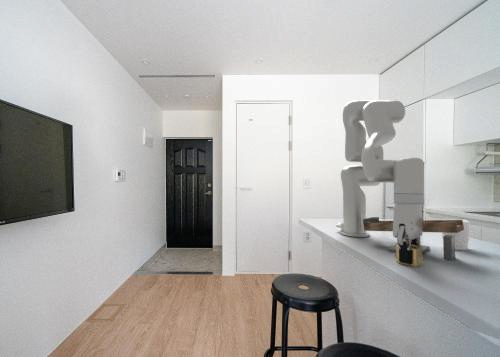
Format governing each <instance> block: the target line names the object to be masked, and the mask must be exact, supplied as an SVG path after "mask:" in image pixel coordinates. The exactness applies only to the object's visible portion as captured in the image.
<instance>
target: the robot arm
mask: <svg viewBox="0 0 500 357" xmlns="http://www.w3.org/2000/svg"><path fill="white" fill-rule="evenodd" d="M405 115H406V107H405V105H404V103H403V102H401V101H399V100H387V99H385V100H383V99H373V100H369V99H363V100H359V99H358V100H352V101H349V102H347V103H346V104H345V105H344V106H343V111H342V122H343V127H344V131H345V140H344V142H345V143H344V157H345V160H346V161H347V162H348V163H355V164H358V163H359V164H361V165H348V166H345V167H343V168H341V171H340V181H341V186H342V213H343V214H342V215H343V216H342V218H343V220H342V223H340V222H338V223H336V225H335V226H336V228H340V230H339V233H340V234H341V235H343V236H347V237H353V238H354V237H355V238H365V237H367V238H368V237H370V236H371V233H370V231H364V225H363V219H366V218H367V205H366V204H367V203H366V202H367V201H366V199H367V198H366V194H365V192H364V191H363V189H362V188H361V187H376V186H379V185H380V184H381V183H386V184H387V183H392V184H393V204H394V207H393V219H392V221H393V231H392V236H393V238H396V242H398V244H399V246H398V248H399V262H401V263H405V264H410V265H411V264H412V250H411V245H417V246H420V245H421V242H420V243H419V237H420V238H421V237H422V235H423V233H424V232H423V222H422V220H423V210H422V206H425V164H424V163H425V162H424V160H423V159H422V158H419V157H403V158H401V157H400V158H397V159H384V156H385V155H384V153H385V152H384V147H383V145H385V144H387V143H390V142H391V141H392V140H393V139H394V138H395V137H396V134H397V132H396V129H395V126H394V124H399V123H401V121H403V120H404V118H405ZM361 121H363V122H364V123H363V124H364V125H365V127H364V125H363V124H362V122H361ZM367 136H368V140H367ZM404 236H405V237H407V239H406V238H404ZM405 241H408V244H407V243H406V242H405ZM401 263H400V264H401ZM405 264H404V265H405Z"/></svg>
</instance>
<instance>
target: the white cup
mask: <svg viewBox="0 0 500 357" xmlns="http://www.w3.org/2000/svg"><path fill="white" fill-rule="evenodd" d="M440 220H460V218H459V219H456V218H440ZM461 220H462V221H463V226H464V230H462V231H460V232H458V233H443V232H441V234H442V238H443V236H445V235H453V236H455V251H457V250H458V251H468V250H469V241H470V239H469V238H470V224H471V223H470V221H469V220H466V219H461Z"/></svg>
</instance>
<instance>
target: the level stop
mask: <svg viewBox="0 0 500 357" xmlns="http://www.w3.org/2000/svg"><path fill="white" fill-rule="evenodd" d="M442 244H443V246H442V247H443V248H442V250H443V259H444V260H448V261H453V260H454V259H456V250H455V236H453V235H445V236H443V237H442Z"/></svg>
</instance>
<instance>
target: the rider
mask: <svg viewBox="0 0 500 357" xmlns="http://www.w3.org/2000/svg"><path fill="white" fill-rule="evenodd" d="M396 245H397V244H396ZM398 246H399V245H397V246H396V253H395V254H396V263H398V264H401V265H405V266H411V267H413V268H417V267H419V266H421V265H423V253H422V246H417V245H411V250H412V264H411V265H410V264H405V263H401V262H399V248H398Z"/></svg>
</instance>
